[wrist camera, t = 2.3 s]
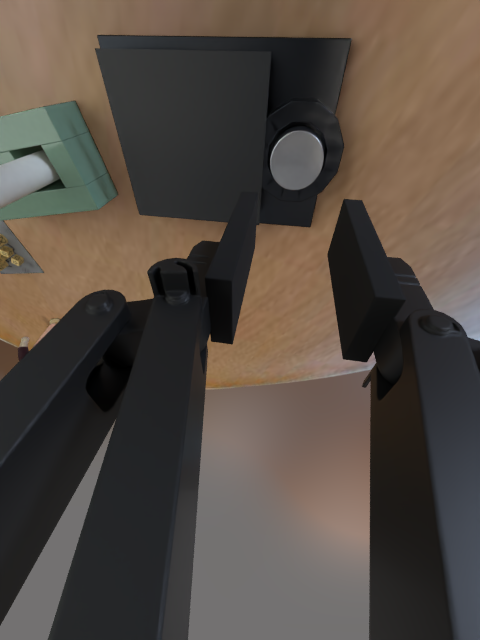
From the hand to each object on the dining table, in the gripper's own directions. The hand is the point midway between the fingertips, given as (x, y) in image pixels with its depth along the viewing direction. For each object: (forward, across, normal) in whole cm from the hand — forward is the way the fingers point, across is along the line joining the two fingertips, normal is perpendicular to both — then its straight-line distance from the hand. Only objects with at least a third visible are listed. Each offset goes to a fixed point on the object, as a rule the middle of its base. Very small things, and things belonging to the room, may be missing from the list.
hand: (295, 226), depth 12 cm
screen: (+12, -9, 0) cm, 15 cm away
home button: (+13, 0, 0) cm, 13 cm away
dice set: (+15, -39, -14) cm, 44 cm away
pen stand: (+15, -25, -2) cm, 29 cm away
